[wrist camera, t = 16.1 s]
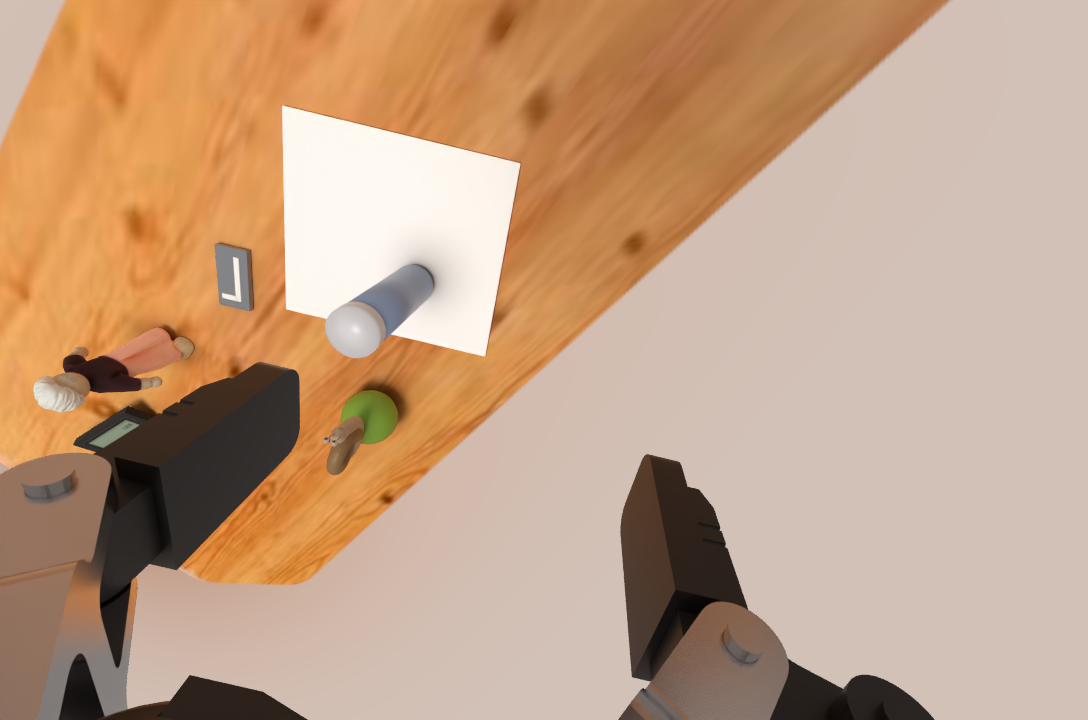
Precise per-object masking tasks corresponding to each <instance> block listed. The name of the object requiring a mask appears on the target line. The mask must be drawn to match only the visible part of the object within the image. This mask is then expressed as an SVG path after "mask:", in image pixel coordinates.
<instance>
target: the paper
mask: <svg viewBox="0 0 1088 720" xmlns="http://www.w3.org/2000/svg"><path fill="white" fill-rule="evenodd" d="M282 119H283V170H284V221H285V273H286V309H287V310H292V311H296V312H300V313H304V314H308V315H313V316H317V317H321V318H325V319H327V318H328V316H329V315H330V314H331V312H333V311H334V310H336V309H337V308H339V307H340V306H342V305H343V304H345V303H348V302H349V301H351V300H352V299H354V298H355V297H357V296H358V295H360V294H361V293H363V292H365V291H366V290H368V289H369V288H371V287H372V286H374V285H375V284H377V283H378V282H380V281H381V280H383V279H384V278H386V277H388V276H389V275H391V274H392V273H394V272H395V271H397V270H398V269H400V268H401V267H403V266H405V265H412V264H418V265H422V266H424V267H425V268H427V269H428V270H429V271H430V272H431V274H432V276H433V278H434V288H433V291H432V294H431V296H430V297H429V298H428V299H427V300H426V301H425V302H424V303H423V304H422V305H421V306H420V307H419V308H418V309H417V310H416V311H415V312H414V313H413V314H412V315H411V316H409V317H408V318H407V319H406V320H405V321H404V322H403V323H402V324H401V325H400V326H399V327H398V328H397V329H396V330H395V331H394V332H393V333H392V335H397V336H401V337H405V338H409V339H414V340H418V341H422V342H426V343H430V344H435V345H439V346H443V347H447V348H451V349H456V350H460V351H464V352H468V353H472V354H477V355H481V356H486V351H487V345H488V340H489V334H490V329H491V323H492V318H493V312H494V307H495V301H496V296H497V291H498V285H499V280H500V274H501V269H502V263H503V258H504V252H505V247H506V241H507V236H508V230H509V225H510V220H511V214H512V209H513V203H514V198H515V192H516V187H517V181H518V176H519V170H520V165H521V163H518V162H513V161H509V160H505V159H501V158H497V157H493V156H489V155H485V154H481V153H476V152H472V151H468V150H464V149H460V148H456V147H452V146H448V145H444V144H439V143H435V142H431V141H427V140H423V139H419V138H415V137H411V136H407V135H402V134H398V133H394V132H390V131H386V130H382V129H378V128H374V127H370V126H365V125H361V124H357V123H353V122H349V121H345V120H341V119H337V118H333V117H328V116H324V115H320V114H316V113H312V112H308V111H304V110H300V109H295V108H291V107H287V106H282Z"/></svg>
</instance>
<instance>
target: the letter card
mask: <svg viewBox="0 0 1088 720" xmlns="http://www.w3.org/2000/svg"><path fill="white" fill-rule="evenodd" d="M215 253H216V265H217V277H218V289H219V301H220V304H221V305H225V306H229V307H234V308H238V309H242V310H246V311H251V310H253V309H254V306H253V286H252V267H251V250H247V249H243V248H239V247H235V246H231V245H226V244H222V243H217V244H215Z"/></svg>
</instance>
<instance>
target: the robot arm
mask: <svg viewBox="0 0 1088 720" xmlns="http://www.w3.org/2000/svg"><path fill="white" fill-rule="evenodd" d="M299 429H300V399H299V375H298V373H297V372H296V371H295V370H293V369H288V368H284V367H280V366H276V365H271V364H267V363H263V362H258V363H256V364H254V365H252V366H251V367H249V368H248V369H246V370H245V371H243V372H242V373H240V374H239V375H237V376H236V377H234V378H233V379H232V378H226V379H223V380H220V381H217V382H214V383H211V384H207V385H204V386H201V387H200V388H198V389H197V390H195V391H193V392H192V393H190V394H189V395H187V396H185V397H184V398H182V399H181V401H180V402H179V403H178V402H176V403H174V404H173V405H171V406H169V407H168V408H166V409H165V410H163V413H162V414H159V413H158V414H157V415H155V416H153V417H152V418H150V419H149V420H147V421H145V422H144V423H142V424H141V425H139V426H137V427H136V428H134V429H133V430H131V431H130V432H128V433H126V434H125V435H123V436H122V437H120V438H118V439H117V440H115V441H114V442H112V443H110V444H109V445H107V446H106V447H104V448H102V449H101V450H99V451H98V452H96V453H94V454H88V453H63V454H56V455H50V456H45V457H41V458H37V459H34V460H31V461H28V462H25V463H23V464H20V465H17V466H15V467H13V468H11V469H9V470H7V471H5V472H4V473H2V474H0V720H307V719H306V718H304V717H302V716H300V715H299V714H298V713H296V712H294V711H293V710H291V709H290V708H288V707H286V706H285V705H283V704H281V703H280V702H278V701H277V700H275V699H274V698H272V697H270V696H269V695H267V694H265V693H264V692H261V691H257V690H253V689H248V688H244V687H239V686H235V685H231V684H226V683H222V682H217V681H213V680H209V679H204V678H200V677H195V676H191V675H189V677H188V678H187V680H186V681H185V682H184V684H183V685H182V686H181V687H180V689H179V690H178V691H177V693H176V694H175V695H174V697H173V698H172V699H171V701H165V702H159V703H153V704H148V705H142V706H138V707H134V708H130V709H127V698H126V685H127V673H128V665H129V655H130V647H131V639H132V631H133V623H134V622H133V621H134V614H135V605H136V597H137V589H138V587H137V579H136V576H137V575H138V574H139V573H140V572H141V571H142V570H143V569H144V568H145V567H146V566H147V565H148V564H152V565H157V566H161V567H165V568H170V569H174V570H177V569H178V568H179V567H180V566H181V565H182V564H183V563H184V562H185V561H186V560H187V559H188V558H189V557H190V556H191V555H192V554H193V553H194V552H195V551H196V550H197V549H198V547H199V546H200V545H201V544H202V543H203V542H204V541H205V540H206V539H207V538H208V537H209V536H210V535H211V534H212V533H213V532H214V531H215V530H216V529H217V528H218V527H219V526H220V525H221V524H222V523H223V522H224V521H225V520H226V519H227V518H228V517H229V515H230V514H231V513H232V512H233V511H234V510H235V509H236V508H237V507H238V506H239V505H240V504H241V503H242V502H243V501H244V500H245V499H246V498H247V497H248V496H249V495H250V494H251V493H252V492H253V491H254V490H255V489H256V488H257V487H258V486H259V485H260V483H261V482H262V481H263V480H264V479H265V478H266V477H267V476H268V475H269V474H270V473H271V472H272V471H273V470H274V469H275V468H276V467H277V466H278V465H279V464H280V463H281V462H282V461H283V460H284V459H285V458H286V457H287V456H288V454H289V453H290V452H291V451H292V449H293V447H294V445H295V443H296V441H297V438H298V435H299ZM621 544H622V557H623V570H624V583H625V596H626V607H627V620H628V633H629V646H630V659H631V671H632V677H634V678H638V679H642V680H647V681H651V683H650V684H649V685H648V687H647V688H646V689H644V688H643V689H641V690H640V692H639V693H638V694H637V695H636V696H635V698H634V699H633V700H632V702H631V703H630V704H629V706H628V707H627V708H626V710H625V711H624V713H623V714H622V715H621V717H620V718H619V720H934V719H933V717H932V716H931V715H930V714H929V713H928V712H927V711H926V710H925V709H924V708H923V707H922V706H921V705H920V704H919V703H918V702H917V701H916V700H915V699H914V698H912V697H911V696H910V695H908V694H907V693H906V692H904V691H903V690H902V689H900V688H899V687H897V686H895V685H894V684H892V683H890V682H888V681H886V680H884V679H881V678H879V677H876V676H871V675H859V676H856V677H854V678H852V679H851V680H850V681H849V683H848V684H847V685H846V686H845V687H844V689H842V688H840V687H838V686H836V685H835V684H833V683H831V682H829V681H827V680H825V679H823V678H821V677H820V676H818V675H815V674H814V673H812V672H810V671H808V670H806V669H804V668H802V667H801V666H799V665H797V664H795V663H794V662H792V661H791V660H789V659H788V658H787V655H786V652H785V649H784V647H783V645H782V643H781V642H780V640H779V639H778V637H777V636H776V634H775V633H774V632H773V631H772V629H771V628H770V627H769V626H768V625H767V624H766V623H765V622H764V621H763V620H761V619H760V618H759V617H758V616H757V615H755V614H754V613H752V612H751V611H749V610H748V608H747V605H746V602H745V599H744V596H743V593H742V590H741V587H740V584H739V581H738V578H737V575H736V572H735V569H734V566H733V564H732V560H731V558H730V555H729V552H728V549H727V548H725V545H726V543H725V540H724V537H723V534H722V531H720V525H719V522H718V519H717V516H716V513H715V511H714V508H713V507H712V505H711V504H710V503H709V502H708V500H707V499H706V498H705V497H704V495H703V494H702V493H701V491H700V490H699V489H695V488H690V487H687V483H686V480H685V477H684V473H683V469H682V466H681V464H680V462H677V461H673V460H669V459H665V458H661V457H657V456H652V455H648V454H647V455H645V456H644V458H643V459H642V462H641V465H640V467H639V469H638V472H637V474H636V477H635V480H634V482H633V485H632V487H631V490H630V493H629V495H628V498H627V500H626V503H625V506H624V509H623V514H622V519H621Z"/></svg>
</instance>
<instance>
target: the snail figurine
mask: <svg viewBox="0 0 1088 720" xmlns="http://www.w3.org/2000/svg"><path fill="white" fill-rule="evenodd" d="M397 421H398V411H397V407H396V405H395V403H394V402H393V400H392V399H391V398H390V397H389V396H387V395H386V394H384V393H382V392H379V391H375V390H367V391H362V392H359V393H357V394H355V395H353V396H352V397H351V398H350V399H349V400H348V401H347V402H346V403H345V405H344V407H343V409H342V413H341V424H340V425H339V427H337V428H335V429H334V430H333V431H332V432H331V435H330V436H329V437H326V438H324V439H323V443H324V444H328V443H329V442H330V439H329V438H330V437H331V440H332V442H331V446H332V448H331V450H330V453H329V456H328V460H327V471H328V472H329V473H330V474H332V475H338V474H340V473H341V472H343V470H344V469H345V468H346V466H347V464H348V462H349V460H350V458H351V457H352V456H353V455H354V454H355V453H356V451H357V449H358V448H359V446H360V443H362V444H375V443H378V442H381V441H383V440H385V439H386V438H387V437H389V436H390V435H391V434H392V432H393V431H394V429H395V427H396V425H397Z"/></svg>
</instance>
